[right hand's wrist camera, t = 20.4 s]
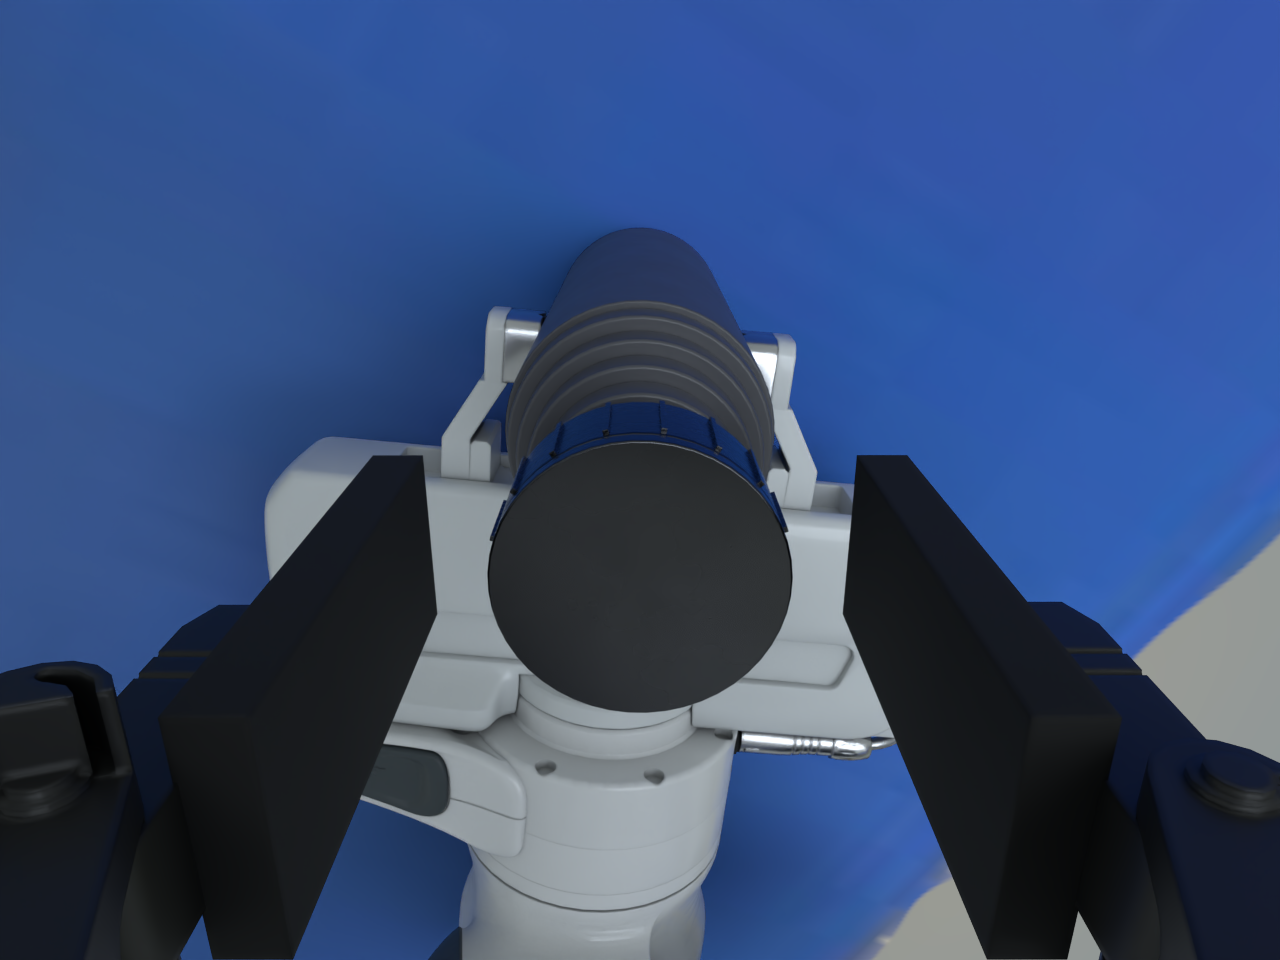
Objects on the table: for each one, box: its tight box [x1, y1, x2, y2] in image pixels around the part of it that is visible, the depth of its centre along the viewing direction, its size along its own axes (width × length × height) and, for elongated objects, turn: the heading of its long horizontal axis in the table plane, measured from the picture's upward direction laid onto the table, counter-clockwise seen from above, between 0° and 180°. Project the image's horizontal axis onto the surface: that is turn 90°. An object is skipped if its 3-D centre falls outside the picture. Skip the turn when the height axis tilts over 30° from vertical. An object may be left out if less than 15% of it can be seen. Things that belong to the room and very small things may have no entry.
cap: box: [487, 400, 793, 713], centre depth 13 cm, size 4×4×2 cm
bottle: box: [505, 228, 775, 480], centre depth 22 cm, size 6×6×20 cm
